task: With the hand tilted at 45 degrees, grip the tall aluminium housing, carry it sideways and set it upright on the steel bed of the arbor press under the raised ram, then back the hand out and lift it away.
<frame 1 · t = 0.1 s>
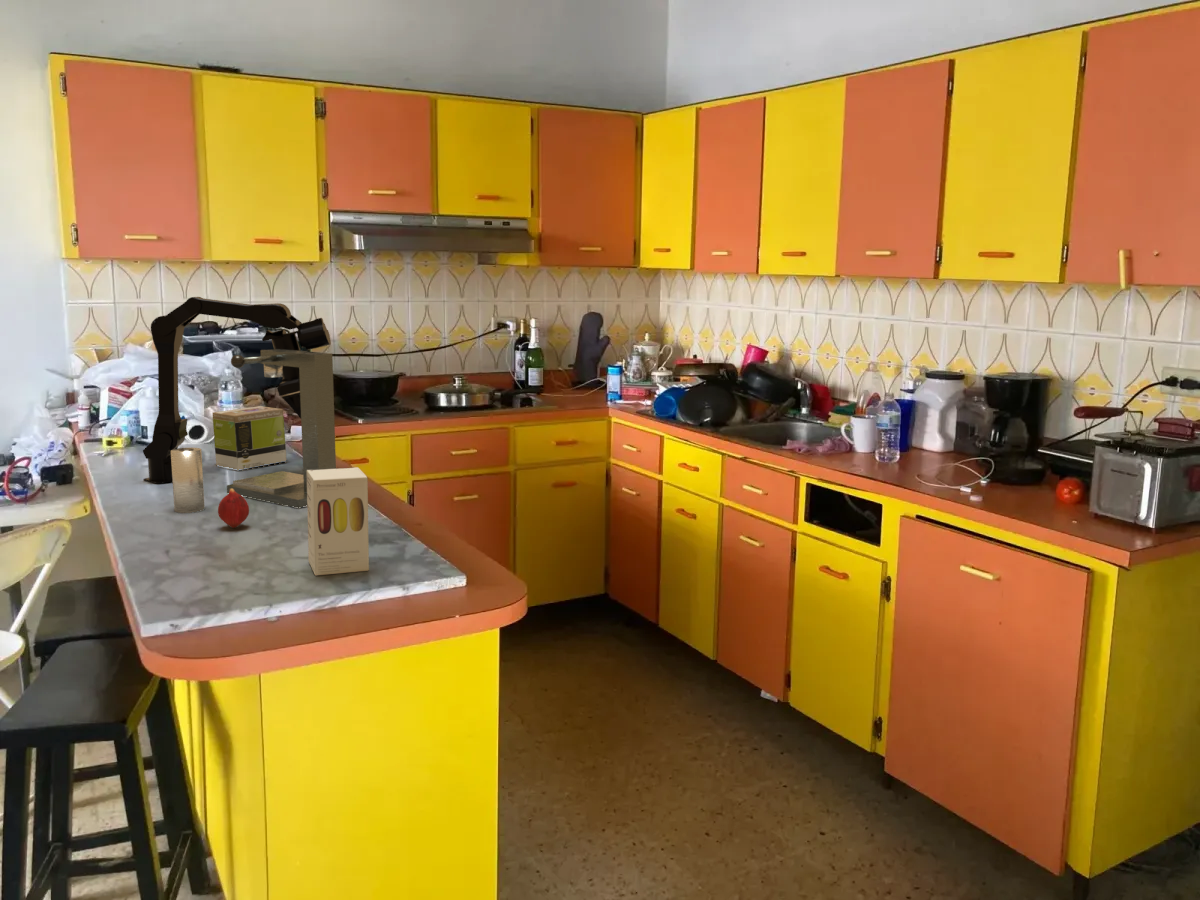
hand: (307, 417, 239), 15 cm above the countertop, tool pointing down, fingers open, 9 cm apart
housing: (189, 509, 210), on the countertop
arbor press: (278, 492, 227), on the countertop
tea box: (251, 466, 258), on the countertop
onion: (234, 528, 196), on the countertop
supplement box: (338, 567, 173), on the countertop
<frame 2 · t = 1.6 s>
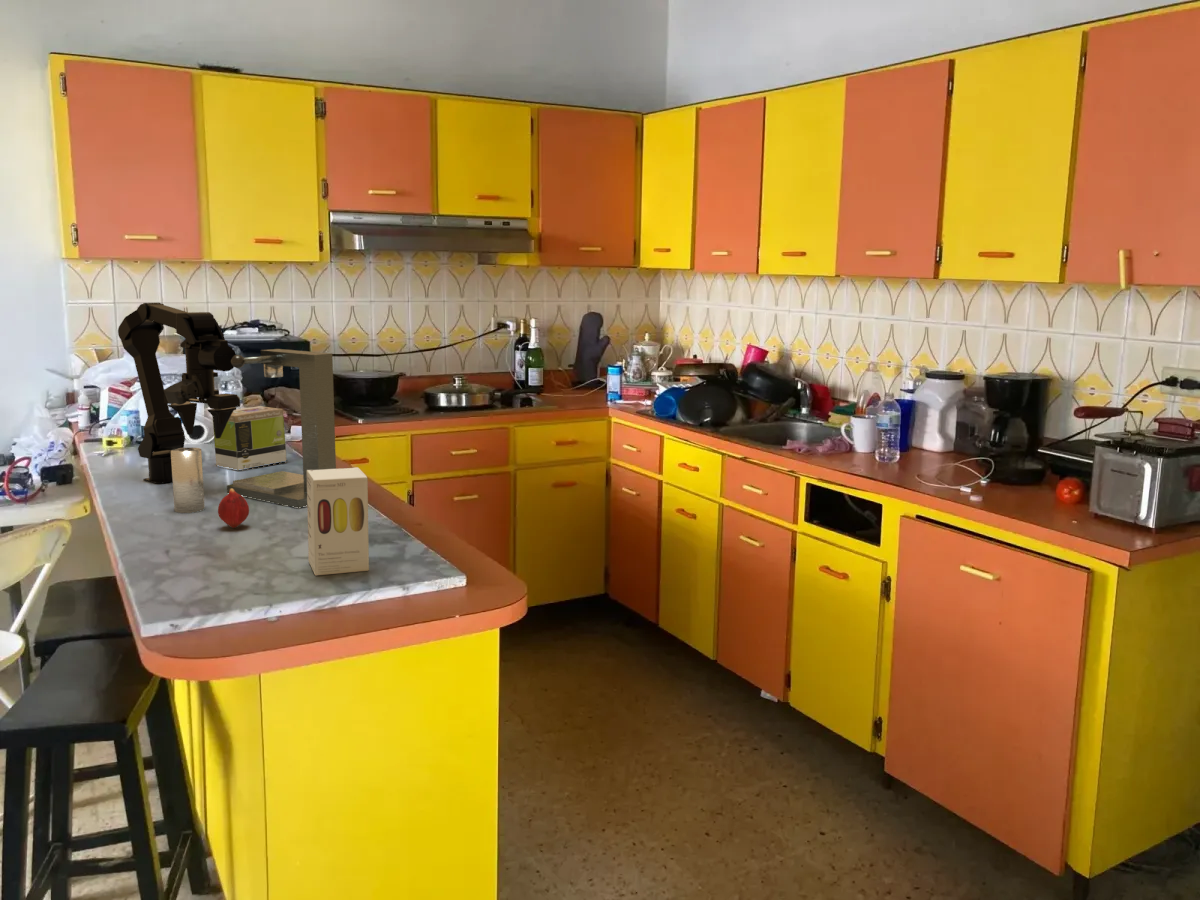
hand: (203, 436, 224), 13 cm above the countertop, tool pointing down, fingers open, 9 cm apart
nothing on the countertop moved.
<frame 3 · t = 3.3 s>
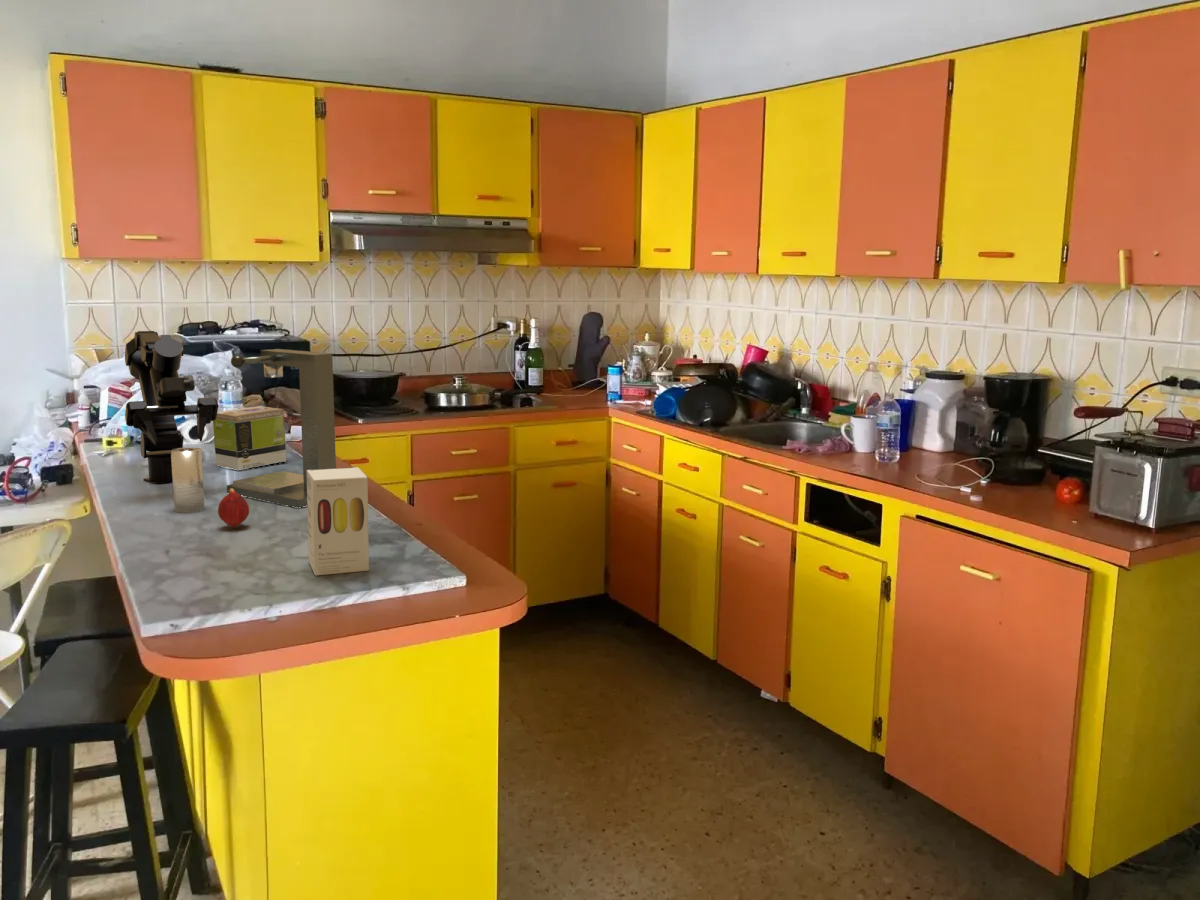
hand: (178, 441, 214), 13 cm above the countertop, tool tilted 45°, fingers open, 9 cm apart
nothing on the countertop moved.
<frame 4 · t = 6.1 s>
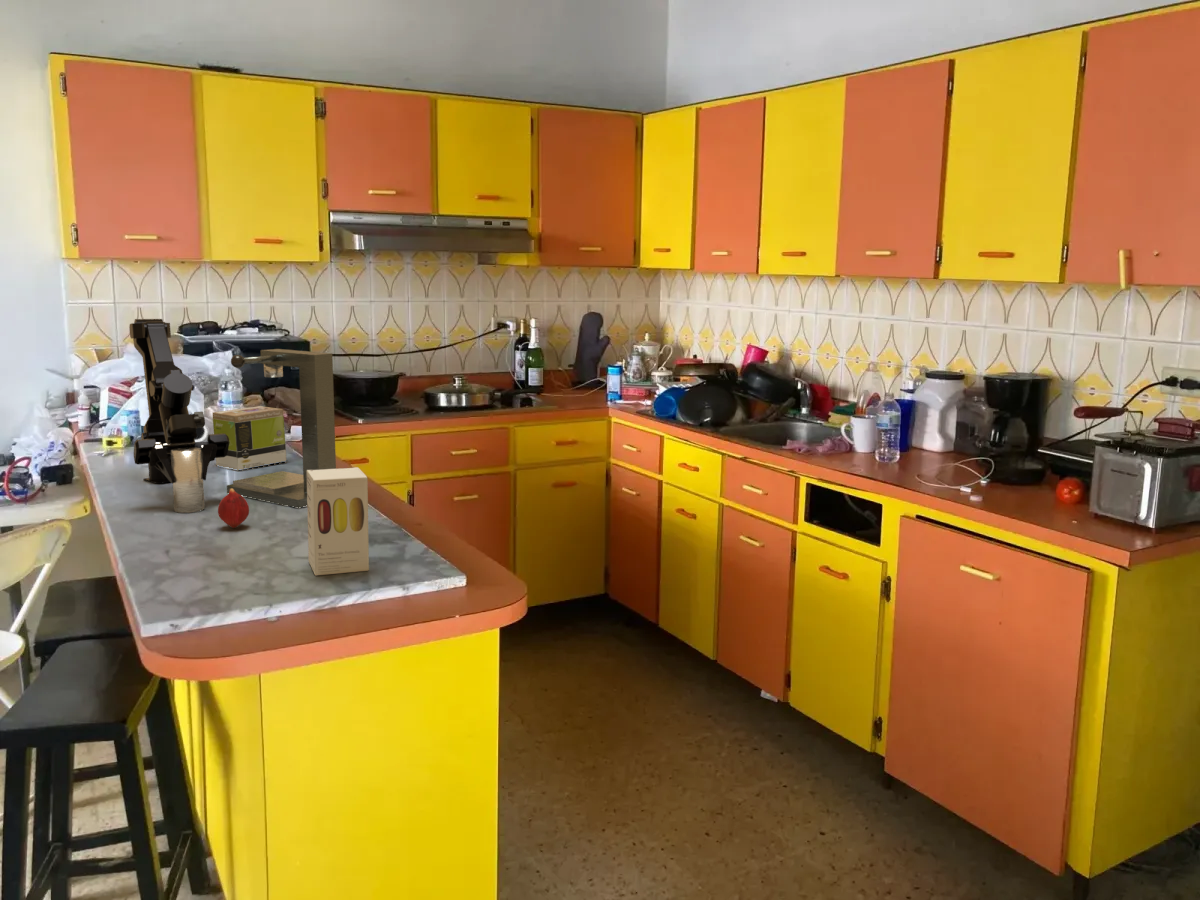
hand: (189, 480, 208), 7 cm above the countertop, tool tilted 45°, fingers closed on housing, 6 cm apart
housing: (189, 509, 210), on the countertop, touching gripper
everything else where it was.
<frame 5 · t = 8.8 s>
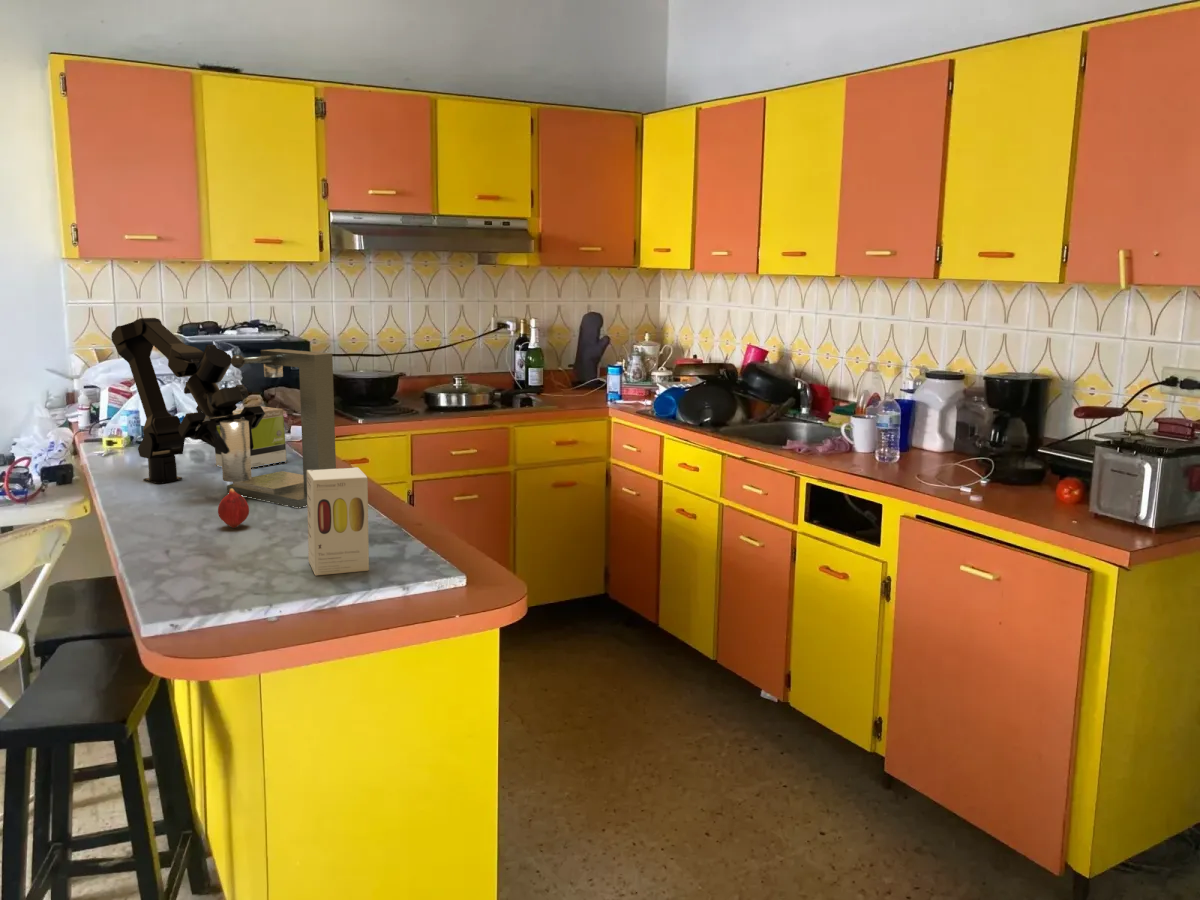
hand: (239, 450, 216), 11 cm above the countertop, tool tilted 45°, fingers closed on housing, 6 cm apart
housing: (237, 479, 218), point 5 cm above the countertop, touching gripper
everything else where it was.
when the fingers open (11 cm above the countertop, at t = 11.5 s): housing drops 1 cm, resting on arbor press.
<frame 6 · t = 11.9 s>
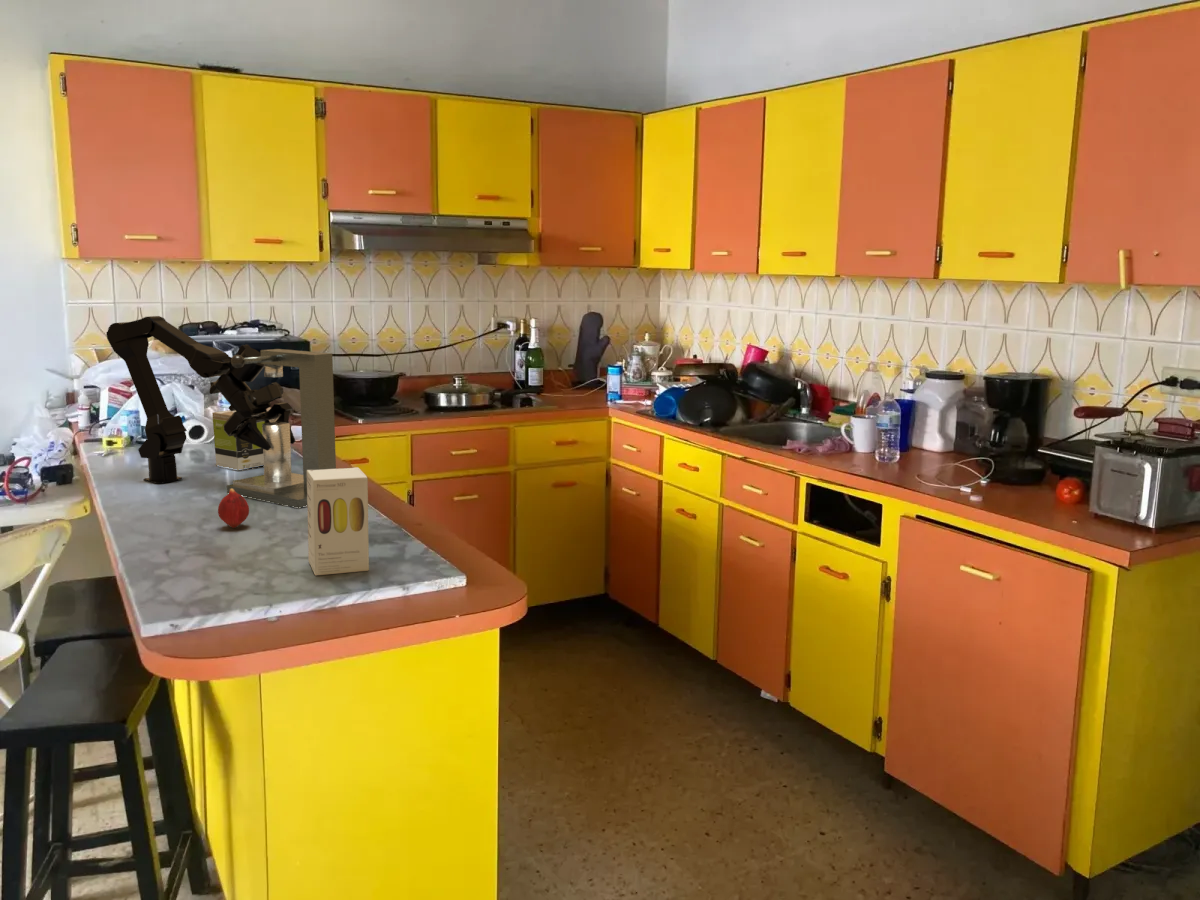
hand: (281, 445, 225), 11 cm above the countertop, tool tilted 45°, fingers open, 9 cm apart
housing: (278, 479, 227), point 3 cm above the countertop, touching arbor press
everything else where it was.
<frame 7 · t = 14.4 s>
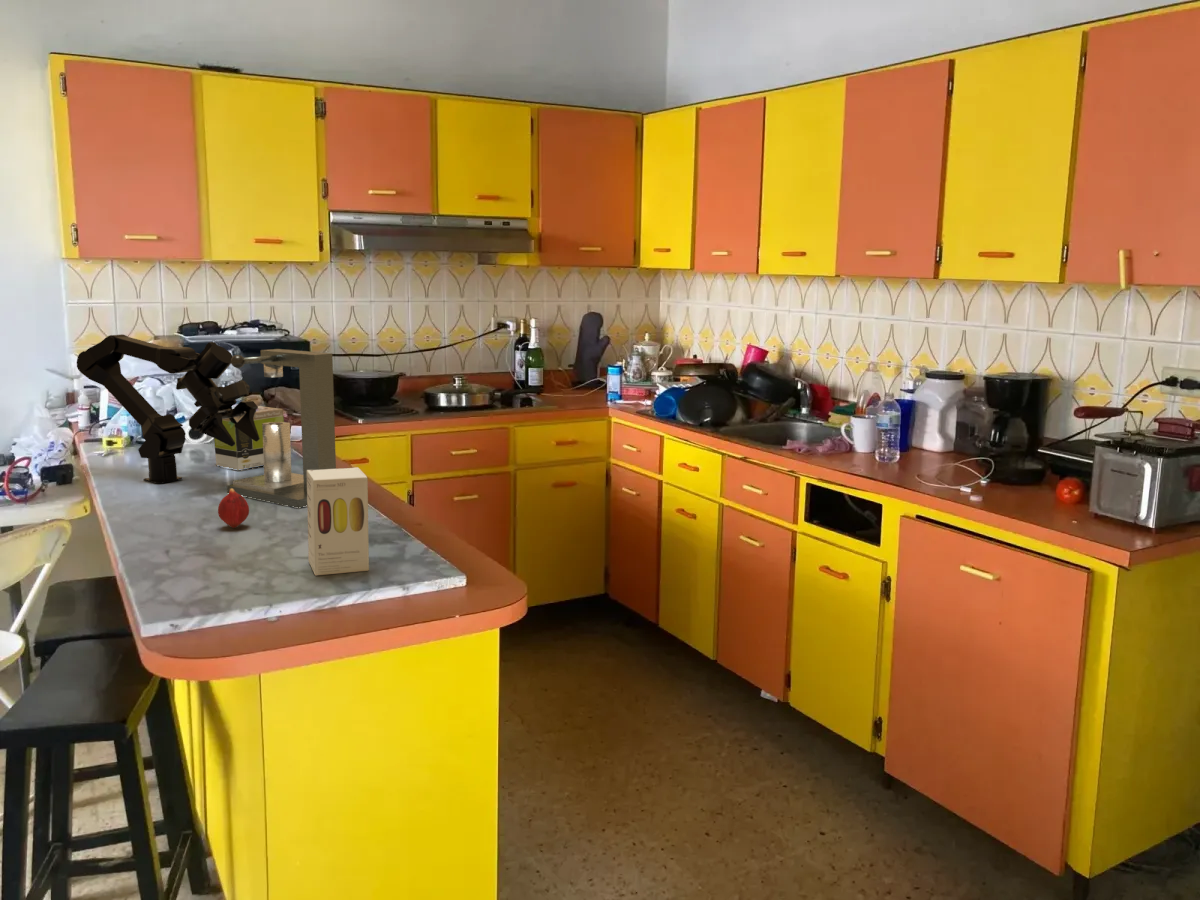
hand: (246, 442, 228), 11 cm above the countertop, tool tilted 45°, fingers open, 9 cm apart
nothing on the countertop moved.
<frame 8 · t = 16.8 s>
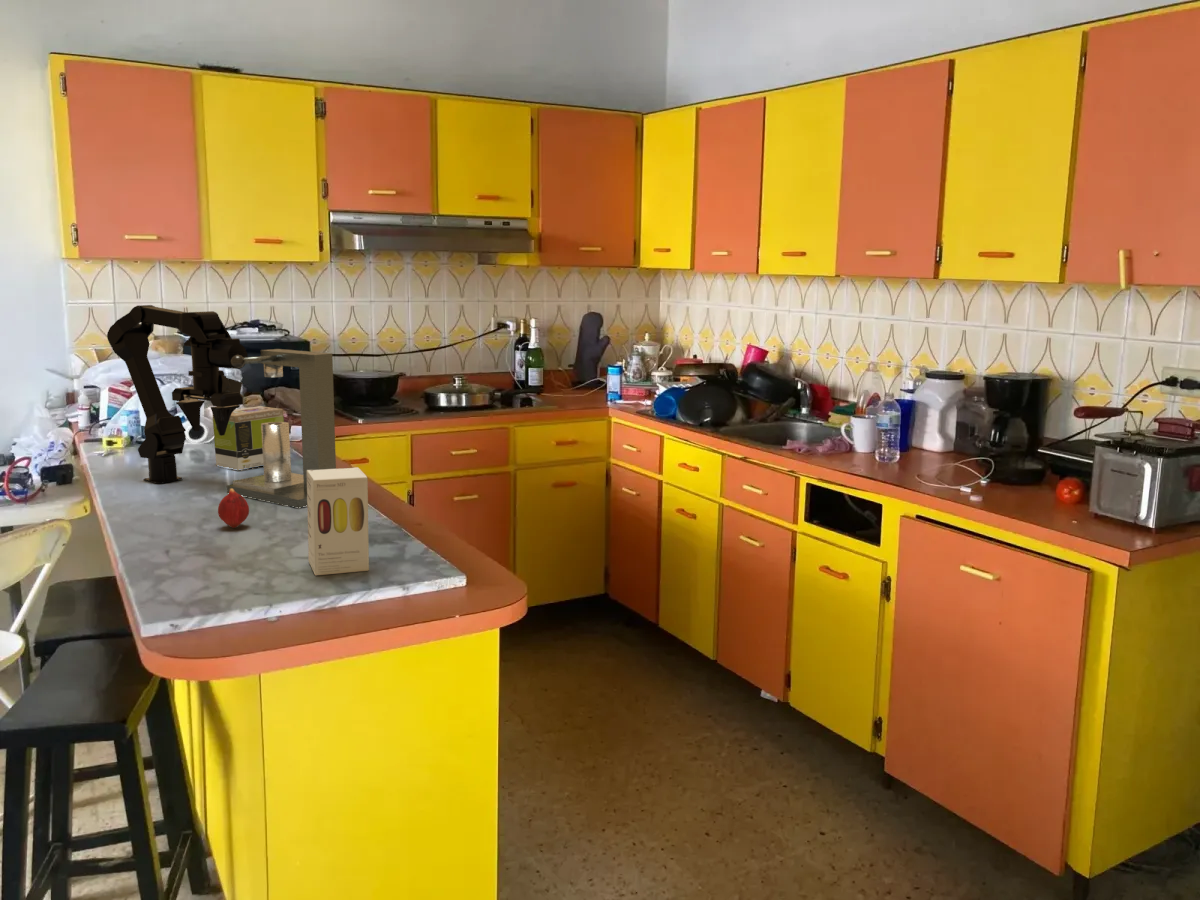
hand: (209, 433, 228), 13 cm above the countertop, tool pointing down, fingers open, 9 cm apart
nothing on the countertop moved.
at the end: housing inside the target area on the arbor press (0.1 cm from its centre), point 3.1 cm above the arbor press's base; housing tilted 2°; the gripper is holding nothing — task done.
